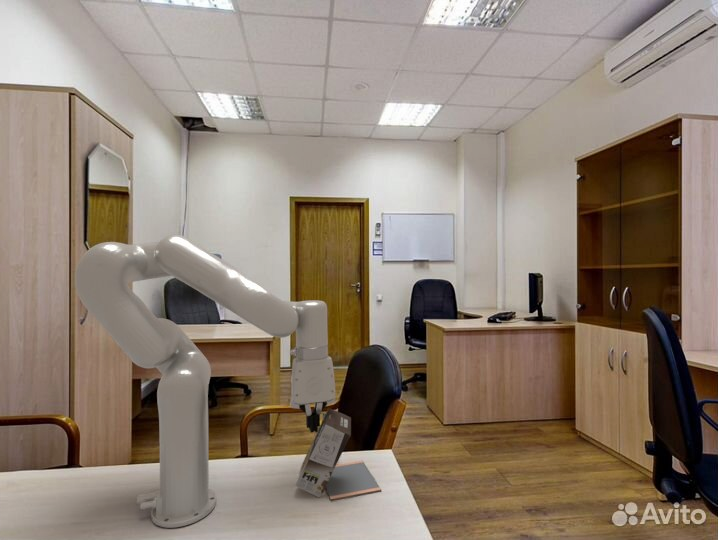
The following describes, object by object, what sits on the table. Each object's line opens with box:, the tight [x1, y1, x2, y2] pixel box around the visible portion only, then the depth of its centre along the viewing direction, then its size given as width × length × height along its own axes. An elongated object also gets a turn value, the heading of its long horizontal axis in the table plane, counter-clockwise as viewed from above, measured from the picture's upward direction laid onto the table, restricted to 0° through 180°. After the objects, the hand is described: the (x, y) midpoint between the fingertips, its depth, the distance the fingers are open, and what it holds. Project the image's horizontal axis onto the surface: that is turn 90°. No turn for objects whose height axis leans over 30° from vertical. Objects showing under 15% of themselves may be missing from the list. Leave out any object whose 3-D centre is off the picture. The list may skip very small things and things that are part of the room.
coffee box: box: [295, 407, 352, 498], centre depth 88 cm, size 9×6×16 cm
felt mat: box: [325, 460, 382, 502], centre depth 91 cm, size 12×14×1 cm
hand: (313, 429), depth 89 cm, fingers closed
